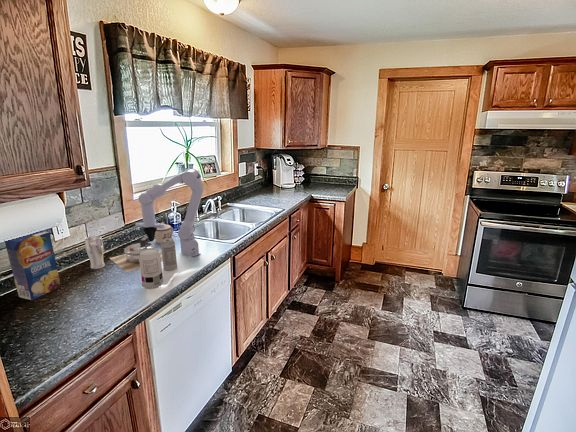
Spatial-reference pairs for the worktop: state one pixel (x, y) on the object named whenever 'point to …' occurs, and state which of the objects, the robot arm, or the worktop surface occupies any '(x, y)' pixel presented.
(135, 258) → the cream flat block
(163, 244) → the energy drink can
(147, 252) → the supplement can
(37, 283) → the juice carton
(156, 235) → the teacup with lid
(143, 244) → the cooker lid
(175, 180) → the robot arm
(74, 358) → the worktop surface
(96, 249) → the beer glass
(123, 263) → the trivet board
